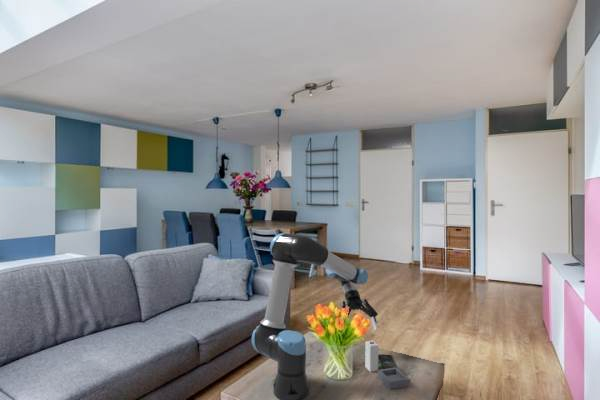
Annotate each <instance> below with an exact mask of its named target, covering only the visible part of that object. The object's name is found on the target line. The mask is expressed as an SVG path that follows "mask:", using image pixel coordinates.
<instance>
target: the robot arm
mask: <svg viewBox="0 0 600 400" xmlns="http://www.w3.org/2000/svg"><path fill="white" fill-rule="evenodd" d="M269 250H270V255H272V262H273V264H274V268H273V273H272V274H273V275H272V277H271V284H270V288H269V294H268V299H267V303H266V308H265V309H266V310H265V315H264V318H263V319H262V320H261V321H259V325H258V326H255V329H253V332H252V335H251V345H252V347H253V349H254V350H255V351H256V352H258V353H259V354H260V355H262V356H265V357H267V358H269V359H271V360H272V361H274V362H277V372H276V373H277V374H276V375H275V379H274V382H273V387H272V389H273V390H272V391H273V394H274V396H275V397H276V398H277V399H279V400H304V399H305V398H306V397H308V396H309V394H310V391H311V390H310V382H309V380H308V377H307V372H306V369H307V368H306V367H307V366H306V365H307V364H306V363H307V345H306V338H305V336H304V335H303V334H302V333H301V332H299V331H297V330H290V329H287V330H286V328H287V326H286V324H285V323H284V321H285V315H286V310H287V304H288V300H289V293H290V289H291V283H292V277H293V273H294V272H293V271H294V268H296V267H298V264H299V262H301V263H307V264H310V265H313V266H317V267H322V268H324V269H325V274H326V275H327V276H328V277H329V278H332V279H334V280H336V281H338V282H340V285H341V287H342V291H343V294H344V297H345V300H346V301H344V300H343V301H342V302H341V309H342V308H345V309H346V307H348V309H349V313H348V317H349V316H350V314H351V311H356V310H357V311H358V310H360V311H361V312H363V313H364V314H366V315H367V316H368V317H370V319H369V320H370V322H371V325H372V328H373V330H374V332H376V331H378V329H379V328H378V326H377V323H378V321H377V316H378V314H379V313H378V312H377V311H376V310H375V308H374V307H373V306H372V305H371V304H370V303H369V302H368V300H367V299H366V298H364V300H363V299H361V296H360V292H359V291H358V289H359V288H358V286H357V285H361V286H362V285H366V284H367V282H368V279H369V273H368V271H367V270H365V269H363V268H359V267H356V266H354V265H353V264H351V263H349V262H348V261H345V260H344V259H342V258H341V257H339V256H338V255H335V254H334V253H332V252H331V251H330V250H329V249H328V247H327V246H325V245H324V244H323V243H320V242H318V241H317V240H315V239H313V238H311V237H309V236H307V235H301V234H300V235H299V234H294V233H293V234H292V233H285V232H284V233H279V234H277V235H275V236H274V237H273V238H272V240H271V242H270V245H269ZM356 284H357V285H356Z"/></svg>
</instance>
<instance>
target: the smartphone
mask: <svg viewBox="0 0 600 400" xmlns="http://www.w3.org/2000/svg"><path fill="white" fill-rule="evenodd" d="M378 365H379V366H380V370H382V369H388V368H395V367H396V368H398V367H397V364H396V363H395V360H394V357H393V356H392V355H391V354H378Z"/></svg>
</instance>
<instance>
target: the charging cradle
mask: <svg viewBox="0 0 600 400" xmlns="http://www.w3.org/2000/svg"><path fill="white" fill-rule="evenodd" d="M377 378H378V379H380V381H381V382H382V383H383V384H384V385H385V386H386V387H387V389H389V390H391V389H392V390H393V389H399V388H404V387H405V388H406V387H409V386H410V378H409V377H408V376H406V374H404V373H403V372H402V371H401V370H400V369H399V368H398V367H397V368H396V367H395V368H388V369H378V371H377Z"/></svg>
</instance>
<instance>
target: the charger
mask: <svg viewBox="0 0 600 400" xmlns="http://www.w3.org/2000/svg"><path fill="white" fill-rule="evenodd" d="M364 344H365V345H364V347H365V354H364V358H365V359H364V360H365V361H364V363H365V364H364V365H365V368H366V369H367V370H368V371H369V372H370V373H371V372H378V370H379V361H378V355H379V344H378V343H377V342H375V341H374V340H367V341H365V343H364Z"/></svg>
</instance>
